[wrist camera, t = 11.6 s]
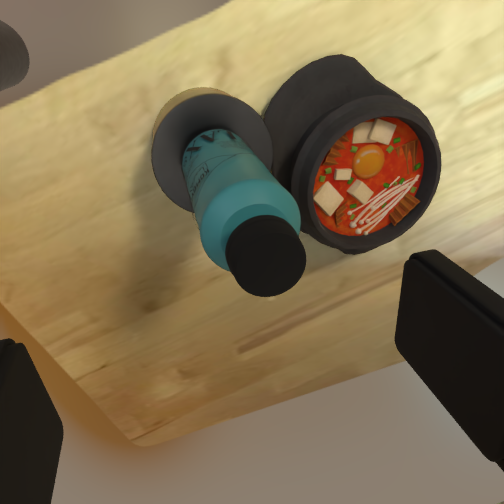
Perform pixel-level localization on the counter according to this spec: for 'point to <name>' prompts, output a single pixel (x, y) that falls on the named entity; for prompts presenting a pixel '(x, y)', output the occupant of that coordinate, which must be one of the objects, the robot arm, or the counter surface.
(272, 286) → the beverage bottle
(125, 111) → the counter surface
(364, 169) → the casserole
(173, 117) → the gold round tin
